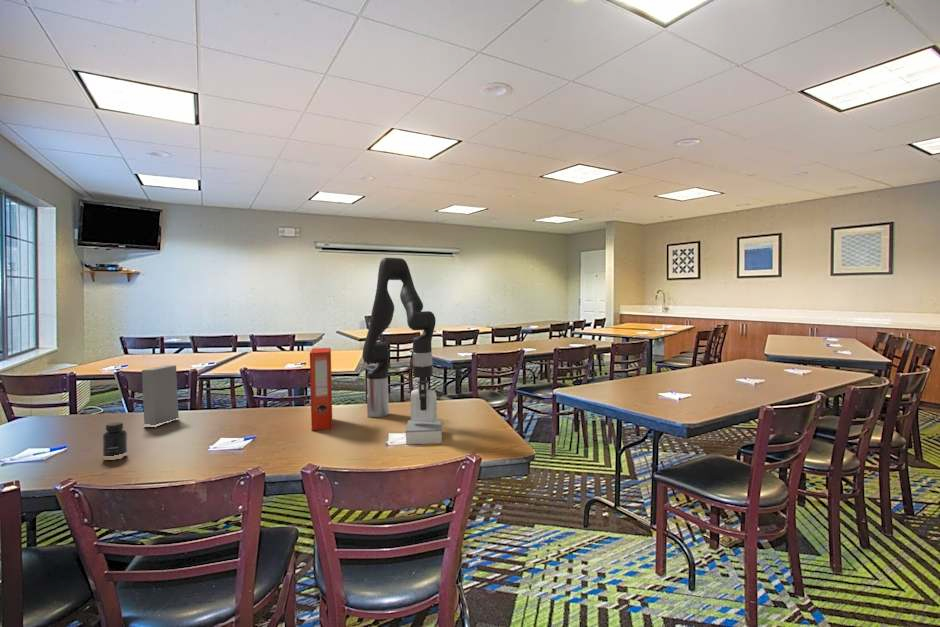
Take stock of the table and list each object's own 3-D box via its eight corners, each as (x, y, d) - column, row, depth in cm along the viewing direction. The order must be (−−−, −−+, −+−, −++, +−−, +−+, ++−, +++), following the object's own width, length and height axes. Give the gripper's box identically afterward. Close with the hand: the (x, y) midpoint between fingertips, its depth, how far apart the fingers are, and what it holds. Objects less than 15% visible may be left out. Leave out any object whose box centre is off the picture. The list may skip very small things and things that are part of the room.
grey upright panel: (167, 419, 221) (164, 365, 220) (179, 420, 220) (176, 365, 219) (142, 428, 207) (139, 370, 206) (155, 428, 206) (152, 370, 205)
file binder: (333, 418, 215) (330, 347, 214) (332, 429, 199) (329, 351, 198) (314, 420, 213) (311, 348, 212) (311, 431, 197) (308, 352, 195)
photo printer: (438, 420, 184) (437, 388, 184) (434, 423, 180) (433, 390, 180) (413, 418, 188) (413, 387, 187) (409, 421, 183) (408, 389, 183)
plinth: (406, 444, 176) (405, 430, 176) (408, 432, 191) (408, 420, 191) (441, 442, 177) (441, 429, 177) (441, 431, 192) (441, 418, 192)
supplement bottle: (108, 462, 163) (106, 427, 163) (99, 459, 167) (97, 425, 167) (131, 456, 169) (129, 422, 169) (122, 453, 173) (120, 420, 172)
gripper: (413, 361, 190) (414, 404, 191) (411, 367, 176) (412, 413, 176) (432, 361, 190) (433, 403, 191) (432, 366, 176) (433, 412, 177)
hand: (423, 408), depth 184 cm, fingers closed on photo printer, 5 cm apart
